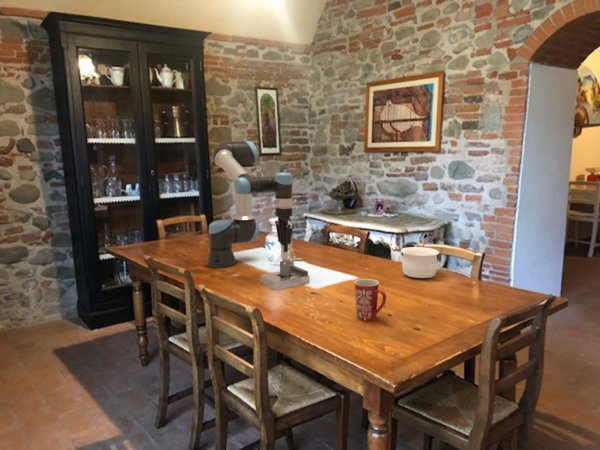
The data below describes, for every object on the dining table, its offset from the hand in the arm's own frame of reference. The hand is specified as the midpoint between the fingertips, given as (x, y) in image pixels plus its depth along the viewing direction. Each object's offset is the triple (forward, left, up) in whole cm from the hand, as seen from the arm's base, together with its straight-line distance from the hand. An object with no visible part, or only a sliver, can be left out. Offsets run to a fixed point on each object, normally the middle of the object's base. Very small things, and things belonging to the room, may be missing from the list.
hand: (284, 258), depth 215 cm
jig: (0, 0, -12) cm, 12 cm away
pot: (+27, +59, -12) cm, 66 cm away
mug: (+56, +3, -12) cm, 58 cm away
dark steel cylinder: (+1, 0, -12) cm, 12 cm away
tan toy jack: (-18, +15, -12) cm, 26 cm away
